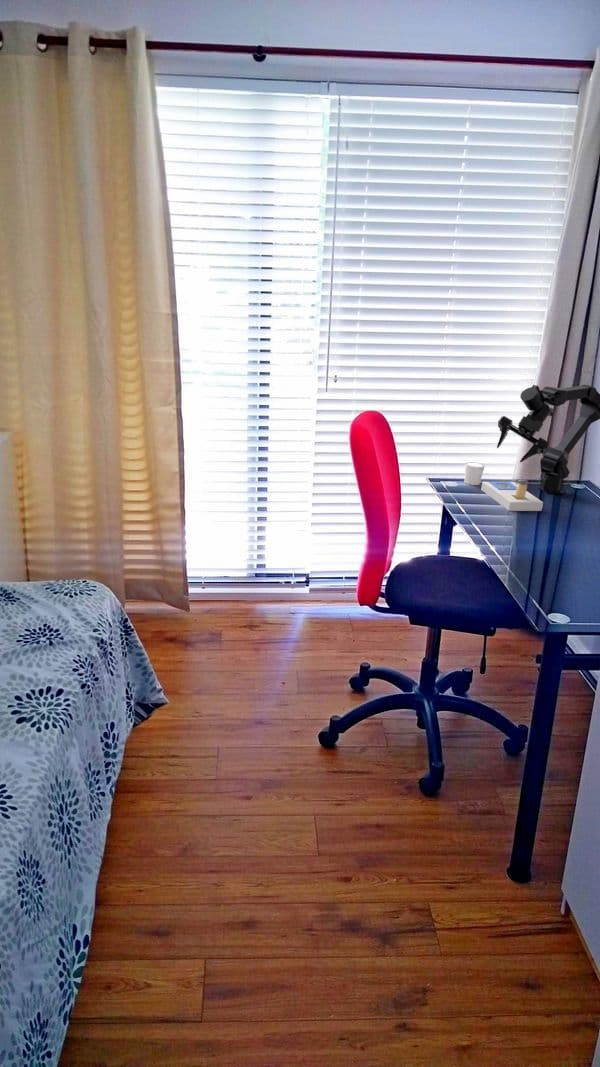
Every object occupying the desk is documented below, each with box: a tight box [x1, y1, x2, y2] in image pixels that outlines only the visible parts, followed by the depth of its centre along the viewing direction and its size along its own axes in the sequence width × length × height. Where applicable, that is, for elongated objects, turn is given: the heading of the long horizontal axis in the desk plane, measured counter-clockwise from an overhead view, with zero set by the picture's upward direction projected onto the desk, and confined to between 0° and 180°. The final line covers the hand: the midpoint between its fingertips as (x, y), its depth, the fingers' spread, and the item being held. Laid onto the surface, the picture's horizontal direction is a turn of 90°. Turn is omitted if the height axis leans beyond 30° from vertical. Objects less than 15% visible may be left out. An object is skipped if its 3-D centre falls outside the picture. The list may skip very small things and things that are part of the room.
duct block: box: [480, 481, 544, 512], centre depth 269 cm, size 12×22×3 cm, turn 12°
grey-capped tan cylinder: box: [515, 478, 529, 500], centre depth 263 cm, size 3×3×9 cm
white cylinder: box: [463, 461, 485, 486], centre depth 285 cm, size 7×7×7 cm
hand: (508, 454), depth 264 cm, fingers open, 9 cm apart
